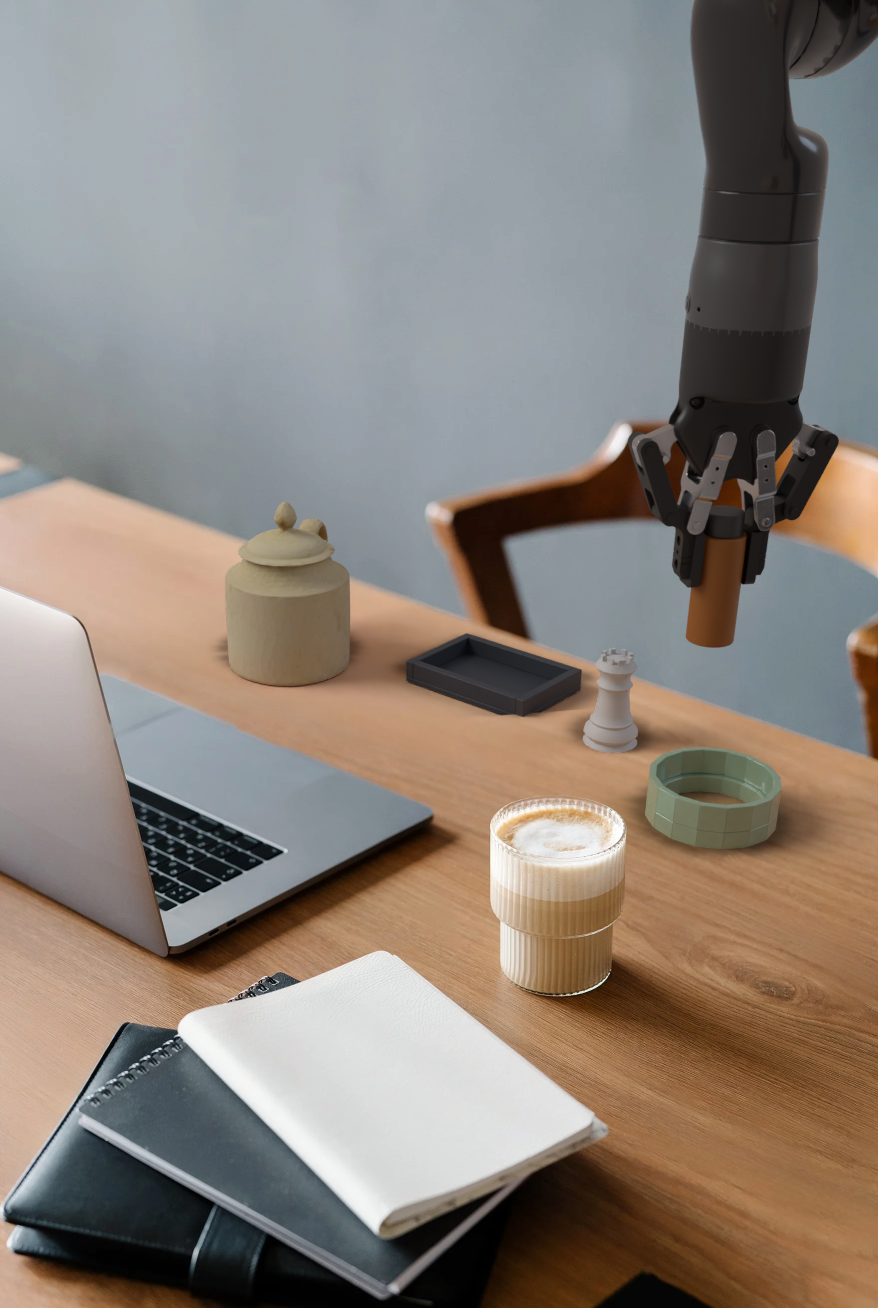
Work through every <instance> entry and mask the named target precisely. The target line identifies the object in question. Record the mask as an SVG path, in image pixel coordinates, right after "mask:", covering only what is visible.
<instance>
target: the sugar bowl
mask: <svg viewBox="0 0 878 1308" xmlns="http://www.w3.org/2000/svg"><path fill="white" fill-rule="evenodd" d="M273 517H274V518H273V520H274V523H275V524H276V526H277V527H278V528H274V529H269V530H265V531H263V532H261V533H258V534H256V535H254V536H253V537H252V538H251V539H249V540H248V541H245V542H244V543H243V544H242V545H241V546H240V547H239V548H238V549H237V555H239V558H241V559H242V560H240V562H238V563H236V564H234V565H232V566H231V567H230V568H229V569H228V570H227V571H226V573H225V576H224V589H225V590H224V599H225V600H224V601H225V603H224V604H225V621H226V622H225V623H226V625H225V626H226V640H227V652H228V653H227V655H228V662H229V663H228V664H229V667H230V669H231V671H232V672H233V673H235V674H236V675H237V676H238V677H240V678H242V679H244V680H247V681H250V682H253V683H258V684H262V685H266V686H278V687H295V686H296V687H297V686H307V685H312V684H313V685H314V684H318V683H321V682H323V681H328V680H331V679H332V677H333V678H335V677H337V676H338V675H340V674H341V673H343V672H344V671H345V670H346V669H347V667H348V665H349V664H350V655H351V654H350V653H351V651H350V649H351V582H350V581H351V580H350V579H351V578H350V573H349V570H348V569H347V567H345V566H344V565H343V564H342V563H340V562H338V561H335V560H333V559H332V555H334V554H335V550H336V549H335V547H334V545H333V544H331V542H329V538H328V537H329V535H328V531H327V527H326V525H325V523H324V522H323V521H322V520H320V519H318V518H305V519H303V520H302V521H301V522H300V523H299V526H298V528H295V527H294V526H295V525H296V523H297V520H298V516H297V513H296V510H295V508H294V507H293V506H292V505H291V503H290V502H288V501H282V502H281V503H280V504H279V505H278V507H277V509H276V510H275V513H274V516H273ZM345 668H346V669H345ZM344 669H345V670H344ZM343 670H344V671H343ZM342 671H343V672H342ZM336 675H337V676H336ZM334 676H335V677H334ZM327 679H328V680H327Z"/></svg>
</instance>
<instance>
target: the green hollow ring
mask: <svg viewBox="0 0 878 1308" xmlns="http://www.w3.org/2000/svg"><path fill="white" fill-rule="evenodd" d="M648 771H649V772H648V781H647V791H646V798H645V799H646V800H645V811H644V817H646V819H647V821H648V822H649V823H650V825H651V826H652V828H654V829H655V830H657V831H658V832H660V833H661V834H663V835H665V836H666V837H668V838H669V839H672V840H673V841H677V842H679V843H683V844H687V845H690V846H691V847H692V846H693V847H695V848H703V849H713V850H722V851H723V850H733V849H745V848H750V847H753V846H755V845H757V844H760V843H763V842H765V841H767V840H768V839H769V838H770V836H771V835H773V833H774V832H775V831H776V829H777V822H778V815H779V809H780V803H781V796H782V788H783V787H782V778H781V776H780V774H778V772H776V770H775V769H774V768H773V767H772V766H771V765H770V764H768V763H767V762H764V761H763V760H761V759H758V758H757V757H755V756H753V755H751V754H747V753H743V752H740V751H737V750H732V749H729V748H720V747H711V746H693V747H680V748H677V749H673V750H671V751H668V752H664V753H662V754H660V755H659V756H658V757H656V758H655V759H654V760H653V761H652V762H651V763H650V764H649V770H648ZM700 792H703V793H712V794H721V795H724V796H728V797H731V798H734V799H738V800H740V801H741V802H742V803H731V804H723V803H713V802H704V801H701V800H696V799H693V798H690V797H687V796H683V795H680V794H687V793H688V794H689V793H700ZM743 802H744V803H743Z"/></svg>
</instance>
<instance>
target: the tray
mask: <svg viewBox="0 0 878 1308" xmlns="http://www.w3.org/2000/svg"><path fill="white" fill-rule="evenodd" d="M405 662H406V665H405V666H406V667H405V682H406V681H408V682H407V683H409V682H410V684H412V683H413V684H412V685H415V686H417V687H420V686H421V688H423V687H424V689H426V688H427V689H426V690H429V691H432V692H435V693H437V692H438V693H437V694H441V695H444V696H445V697H448V698H449V697H450V698H451V699H454V700H457V701H460V702H463V703H466V704H468V705H471V704H472V705H471V706H474V705H475V706H474V707H477V708H479V709H483V710H485V709H486V710H485V711H488V712H491V713H494V714H497V715H499V714H500V716H511V715H513V716H514V715H516V716H519V717H522V718H524V717H525V716H527V715H529V714H537V713H539V714H541V713H543V712H545V711H546V710H549V708H552V707H553V706H555V705H557V704H559V703H560V702H562V701H564V700H566V699H568V698H569V697H572V696H573V695H575V694H577V693H578V692H580V691H581V688H582V675H583V673H582V672H583V669H581V668H579V667H574V666H571V665H568V664H565V663H562V662H559V661H556V660H553V659H550V658H547V657H543V656H541V655H537V654H533V653H530V652H528V651H525V650H522V649H518V648H515V647H512V646H508V645H505V644H502V643H499V642H496V641H493V640H490V639H487V638H485V637H481V636H477V635H475V634H470V633H468V632H466V633H464V634H461V635H460V636H458V637H455V638H453V639H451V640H448V641H446V642H444V643H442V644H440V645H438V646H436V647H433V648H431V649H429V650H426V651H424V652H422V653H420V654H418V655H416V656H414V657H412V658H410V659H407V660H406V661H405ZM577 691H578V692H577ZM576 692H577V693H576ZM567 697H568V698H567ZM565 698H566V699H565ZM558 702H559V703H558ZM542 711H543V712H542Z"/></svg>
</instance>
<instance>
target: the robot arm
mask: <svg viewBox="0 0 878 1308" xmlns="http://www.w3.org/2000/svg"><path fill="white" fill-rule="evenodd" d="M691 7H692V8H691V13H690V14H691V15H690V21H689V51H690V61H691V68H692V76H693V84H694V90H695V97H696V104H697V112H698V113H697V114H698V121H699V128H700V134H701V140H702V145H703V152H704V159H705V168H704V176H703V184H702V186H703V187H702V196H701V203H700V214H699V222H698V223H699V225H698V235H697V240H696V245H695V250H694V256H693V259H692V263H691V268H690V272H689V280H688V289H687V294H686V296H685V300H684V309H685V317H684V329H683V337H682V338H683V339H682V348H681V349H682V350H681V357H680V358H681V359H680V367H679V368H680V369H679V379H678V400H677V403H676V405H675V408H674V409H673V411H672V412H671V414H670V416H669V418H668V423H667V424H665V425H663V426H661V427H658V428H656V429H654V430H652V431H650V432H648V433H644V432H642V431H634V432H633V433H631V434H630V435H629V437H628V440H627V445H628V448H629V451H630V455H631V457H632V461H633V463H634V467H635V470H636V473H637V476H638V479H639V483H640V486H641V488H642V491H643V494H644V497H645V501H646V504H647V507H648V510H649V512H650V513H651V515H652V516H654V517H655V518H656V519H657V520H658V521H659V522H661V523H662V524H663V525H664V526H666V527H672V528H674V530H675V531H674V532H675V533H674V540H673V541H674V542H673V550H672V551H673V552H672V560H671V567H672V571H673V572H674V575H675V576H677V577H678V578H679V581H680V582H681V583H682V584H683V585H684V586H685V587H687V589H689V588H690V589H691V588H692V587H699V586H700V584H701V577H702V568H703V559H704V551H705V542H706V535H705V534H704V533H703V532H702V531H703V530H704V529H705V526H706V522H707V519H708V516H709V513H710V509H711V506H713V503H714V502H716V501H717V500H718V498H719V495H720V491H721V489H722V485H723V483H724V482H728V481H731V480H735V479H736V480H737V484H738V485H737V486H738V487H739V489H740V496H741V499H740V500H741V509H742V510H744V511H745V520H744V528H743V531H744V532H745V533H746V534H747V542H746V550H745V557H744V565H743V573H742V580H741V585H754V584H755V583H756V579H757V576H761V575H762V573H763V572H764V569H765V566H766V565H765V564H766V557H767V550H768V543H769V535H770V531H771V529H772V528H774V526H775V525H776V524H778V523H780V522H783V521H785V520H788V521H796V520H797V519H799V518H800V516H801V515H802V513H803V511H804V510H805V508H806V506H807V504H808V502H809V500H810V499H811V496H812V495H813V493H814V491H815V489H816V488H817V486H818V483H819V481H820V480H821V478H822V476H823V474H824V472H825V471H826V469H827V467H828V464H829V463H830V461H831V460H832V458H833V456H834V454H835V452H836V450H837V449H838V446H839V444H840V442H839V441H840V439H839V436H838V435H836V434H835V433H833V432H832V431H830V430H829V429H827V428H825V427H823V426H820V425H819V424H810V423H808V422H806V421H804V416H803V413H802V410H801V408H800V402H799V401H800V400H799V399H800V395H801V393H802V391H803V389H804V382H805V381H804V380H805V374H806V368H807V360H808V352H809V345H810V339H811V331H812V324H813V316H814V309H815V304H816V303H815V302H816V297H817V296H816V295H817V289H818V281H819V280H818V279H819V245H820V239H819V238H820V236H821V227H822V222H823V213H824V206H825V199H826V193H827V192H826V189H827V185H828V175H829V163H830V162H829V161H830V151H829V146H828V143H827V141H826V139H825V138H824V137H823V136H822V135H821V134H820V133H818V132H816V131H814V130H812V129H809V128H807V127H804V126H800V125H798V124H797V123H796V122H795V119H794V113H793V112H794V111H793V106H792V98H791V90H790V80H814V79H818V78H823V77H826V76H829V75H831V74H834V73H836V72H838V71H839V70H841V69H842V68H844V67H846V66H848V65H849V64H850V63H852V62H853V61H855V60H856V59H857V58H858V57H860V56H861V55H862V54H863V53H864V52H865V51H866V50H868V49H869V48H870V47H871V45H873V44H874V43H875V41H876V40H877V39H878V0H693V4H692V6H691ZM674 443H675V444H676V445H677V447H678V448H679V450H680V451H681V453H682V455H683V456H684V458H685V460H686V461H685V464H684V468H683V471H682V475H681V477H680V478H681V479H680V489H681V490H680V492H679V493H680V494H679V497H678V500H676V496H675V494H674V491H673V488H672V484H671V481H670V478H669V475H668V471H667V469H666V466H665V465H667V464H668V463H669V462H670V461H671V458H672V448H673V445H674ZM791 443H792V445H791ZM790 445H791V452H792V455H791V457H790V459H789V461H788V463H787V464H786V467H785V469H784V470H783V472H782V473H781V476H780V478H779V480H778V482H777V471H776V463H777V461H778V460H779V459H780V457H781V456H782V455H783V453H785V451H786V450H787V448H788V447H790Z"/></svg>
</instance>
